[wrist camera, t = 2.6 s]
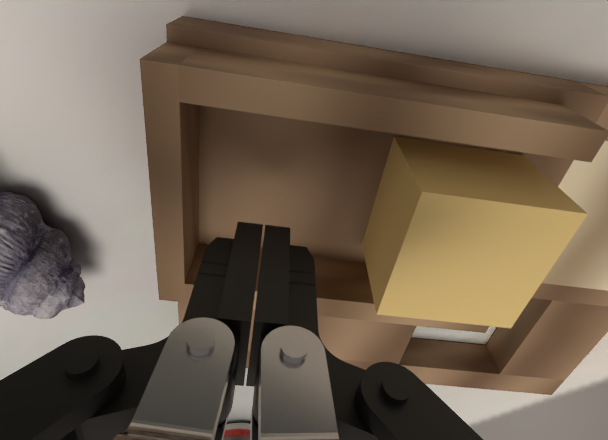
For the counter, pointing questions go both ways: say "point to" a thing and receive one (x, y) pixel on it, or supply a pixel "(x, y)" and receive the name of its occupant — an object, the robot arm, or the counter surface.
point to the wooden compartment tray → (361, 196)
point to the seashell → (35, 262)
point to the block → (463, 233)
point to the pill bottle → (237, 431)
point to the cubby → (330, 110)
